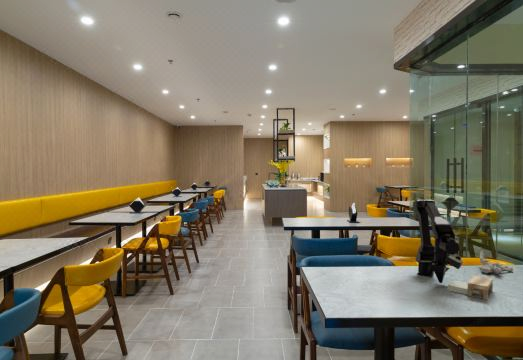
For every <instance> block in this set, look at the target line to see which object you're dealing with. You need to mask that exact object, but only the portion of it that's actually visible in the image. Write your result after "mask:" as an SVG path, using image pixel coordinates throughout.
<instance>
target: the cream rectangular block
mask: <svg viewBox="0 0 523 360" xmlns="http://www.w3.org/2000/svg"><path fill="white" fill-rule="evenodd" d="M467 290H468V282H464V281H459V280H451V282H449V283H448V284H447V291H450V292H455V293H459V294H464V295H467ZM482 292H483V289H479V288H473V287H472V293H475V294H480V295H482Z"/></svg>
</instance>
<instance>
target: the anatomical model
mask: <svg viewBox="0 0 523 360" xmlns="http://www.w3.org/2000/svg"><path fill="white" fill-rule="evenodd" d="M485 258H487V256H486V255H485V252H483V250H481V251H480V252H479V263H481V264H482V265H480V270H481V271H482V272H483V273H484V274H489V273H492V274H493V273H495V274H500V272H502V271H506V272H510V273H513V271H514V268H513V267H508V265H502V264H501V263H499V262H498V261H497V262H492V261H490V260H489V259H485ZM489 261H490V262H489Z"/></svg>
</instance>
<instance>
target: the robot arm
mask: <svg viewBox="0 0 523 360" xmlns="http://www.w3.org/2000/svg"><path fill="white" fill-rule="evenodd" d="M412 207H413V210H414V213H415V214H416V216H417V217H418V219H417V220H418V226H419V227H418V228H419V235H420V245H419V247H418V250H417V251H418V252H417V254H415V255H416V256H415V258H414V259H415V262H416V263H418V264H417V265H418V266H417V273H416V274H417V275H418V276H419V275H420V276H424V277H430V278H432V277H433V276H434V275H435V276H436V279H437V281H438V282H439V283H440V284H442V283H444V282H443V281H444V278H445V275H446V272H448V271H449V270H450V269H451V267H454V268H455V269H457V270H460V269H461V267H462V265H463V264H464V263H463V262H464V261H463V260H462V256H460V255H457V256H454V255H456V254H458V253H459V252H460V247H459V244H458V243H457V242H456V241H455V240H456V237H455V236H456V234H455V232H454V230H453V226H451V223H449V221H448V220H447V219H444V218H443V216H442V215H441V213H440V211H439V210H438V208H437V205H436V202H435V200H434V199H415V200H414V201H412ZM429 219H430V221H429ZM430 222H432V223H431V228H430ZM430 229H431V230H430ZM431 232H432V234H433V239H434V244H432V239H431ZM448 265H449V266H450V267H447V266H448Z"/></svg>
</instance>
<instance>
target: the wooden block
mask: <svg viewBox="0 0 523 360" xmlns="http://www.w3.org/2000/svg"><path fill="white" fill-rule="evenodd" d="M493 282H494V279H493V278H492V277H491V278H490V277H485V276H479V275H473V276H472V277H471V278H470V279H469V281H468V282H467V283H468V290H467V294H466V295H467V297H474V298H478V299H479V298H480V299H482V300H486V301H488V299H489V293H490V292H491V293H493V291H494V289H493V288H494V287H493V286H494V285H493V284H494V283H493ZM472 287H473V288H479V289H483V292H482V295H480V294H475V293H472Z"/></svg>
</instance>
